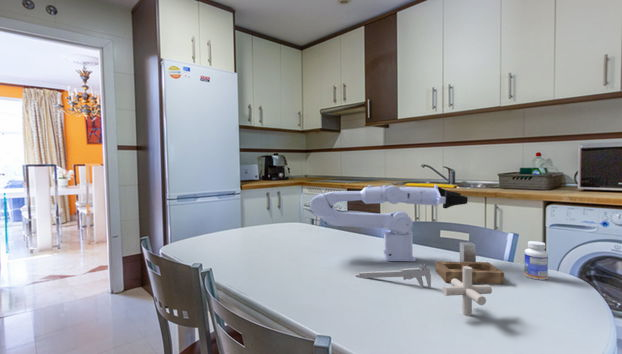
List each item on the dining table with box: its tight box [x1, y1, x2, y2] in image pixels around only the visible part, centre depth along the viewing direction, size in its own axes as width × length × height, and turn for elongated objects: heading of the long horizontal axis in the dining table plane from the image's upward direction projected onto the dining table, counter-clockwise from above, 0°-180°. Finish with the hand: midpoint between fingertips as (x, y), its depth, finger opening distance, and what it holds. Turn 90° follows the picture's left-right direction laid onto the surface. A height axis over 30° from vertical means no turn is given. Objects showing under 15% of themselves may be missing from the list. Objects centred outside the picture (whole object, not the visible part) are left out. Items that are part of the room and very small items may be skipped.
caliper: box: [355, 264, 432, 289], centre depth 86 cm, size 20×1×6 cm, turn 63°
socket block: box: [435, 260, 505, 285], centre depth 89 cm, size 15×9×3 cm, turn 85°
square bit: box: [459, 241, 477, 262], centre depth 99 cm, size 4×4×7 cm
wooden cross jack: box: [441, 266, 493, 317], centre depth 67 cm, size 10×10×10 cm
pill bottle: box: [523, 240, 549, 281], centre depth 88 cm, size 5×5×10 cm
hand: (463, 198), depth 103 cm, fingers open, 7 cm apart
